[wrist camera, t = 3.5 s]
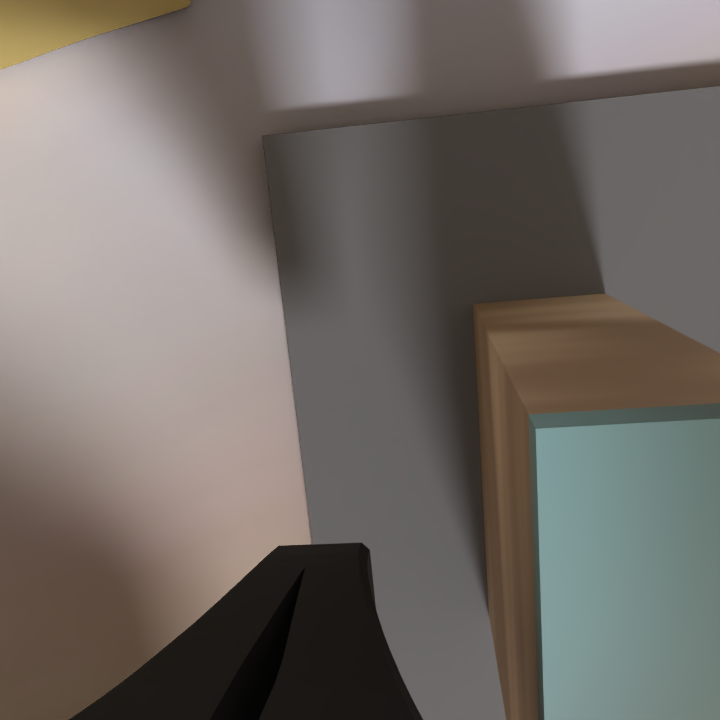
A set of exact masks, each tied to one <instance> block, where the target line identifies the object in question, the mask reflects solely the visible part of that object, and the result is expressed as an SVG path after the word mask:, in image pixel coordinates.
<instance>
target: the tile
mask: <svg viewBox="0 0 720 720" xmlns="http://www.w3.org/2000/svg"><path fill="white" fill-rule="evenodd" d="M473 315H474V334H475V353H476V372H477V392H478V411H479V430H480V450H481V469H482V488H483V507H484V527H485V546H486V565H487V584H488V604H489V619H490V625H491V631H492V637H493V643H494V649H495V655H496V661H497V667H498V673H499V679H500V685H501V691H502V697H503V703H504V709H505V715H506V720H720V353H718V352H716V351H714V350H713V349H711V348H709V347H707V346H705V345H703V344H701V343H699V342H697V341H695V340H693V339H691V338H690V337H688V336H686V335H684V334H682V333H680V332H678V331H676V330H674V329H672V328H670V327H668V326H667V325H665V324H663V323H661V322H659V321H657V320H655V319H653V318H651V317H649V316H647V315H645V314H644V313H642V312H640V311H638V310H636V309H634V308H632V307H630V306H628V305H626V304H624V303H623V302H621V301H619V300H617V299H615V298H613V297H611V296H609V295H607V294H593V295H580V296H567V297H554V298H541V299H528V300H516V301H503V302H490V303H477V304H473Z"/></svg>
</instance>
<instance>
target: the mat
mask: <svg viewBox="0 0 720 720" xmlns="http://www.w3.org/2000/svg"><path fill="white" fill-rule="evenodd" d="M262 138H263V146H264V154H265V163H266V171H267V179H268V187H269V195H270V203H271V211H272V220H273V228H274V236H275V244H276V252H277V260H278V269H279V277H280V285H281V293H282V301H283V309H284V317H285V326H286V334H287V342H288V350H289V358H290V366H291V375H292V383H293V391H294V399H295V407H296V415H297V423H298V432H299V440H300V448H301V456H302V464H303V472H304V481H305V489H306V497H307V505H308V513H309V521H310V529H311V538H312V545H313V544H337V543H361V542H362V543H363V544H364V545H365V546H366V547H367V548H368V549H370V555H371V565H372V575H373V584H374V594H375V604H376V611H377V614H378V617H379V620H380V623H381V626H382V630H383V633H384V635H385V638H386V641H387V643H388V646H389V648H390V651H391V653H392V656H393V658H394V660H395V663H396V665H397V667H398V670H399V672H400V674H401V676H402V679H403V681H404V683H405V685H406V687H407V689H408V691H409V693H410V695H411V697H412V699H413V701H414V703H415V705H416V707H417V709H418V711H419V713H420V715H421V716H422V718H423V720H506V715H505V709H504V703H503V697H502V691H501V685H500V679H499V673H498V667H497V661H496V655H495V649H494V643H493V637H492V631H491V625H490V619H489V604H488V584H487V565H486V546H485V527H484V507H483V488H482V469H481V450H480V430H479V411H478V392H477V372H476V353H475V334H474V315H473V304H477V303H490V302H503V301H516V300H528V299H541V298H554V297H567V296H580V295H593V294H607V295H609V296H611V297H613V298H615V299H617V300H619V301H621V302H623V303H624V304H626V305H628V306H630V307H632V308H634V309H636V310H638V311H640V312H642V313H644V314H645V315H647V316H649V317H651V318H653V319H655V320H657V321H659V322H661V323H663V324H665V325H667V326H668V327H670V328H672V329H674V330H676V331H678V332H680V333H682V334H684V335H686V336H688V337H690V338H691V339H693V340H695V341H697V342H699V343H701V344H703V345H705V346H707V347H709V348H711V349H713V350H714V351H716V352H718V353H720V86H715V87H706V88H697V89H687V90H678V91H669V92H660V93H651V94H642V95H632V96H623V97H614V98H605V99H596V100H586V101H577V102H568V103H559V104H550V105H541V106H531V107H522V108H513V109H504V110H495V111H485V112H476V113H467V114H458V115H449V116H440V117H430V118H421V119H412V120H403V121H394V122H384V123H375V124H366V125H357V126H348V127H339V128H329V129H320V130H311V131H302V132H293V133H283V134H274V135H265V136H262Z"/></svg>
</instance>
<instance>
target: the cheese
mask: <svg viewBox="0 0 720 720" xmlns="http://www.w3.org/2000/svg"><path fill="white" fill-rule="evenodd" d="M190 3H191V0H0V69H3V68H6V67H9V66H12V65H14V64H17V63H20V62H23V61H26V60H29V59H31V58H34V57H37V56H40V55H42V54H45V53H48V52H50V51H53V50H56V49H59V48H61V47H64V46H67V45H70V44H72V43H75V42H78V41H81V40H84V39H87V38H90V37H93V36H96V35H99V34H103V33H106V32H109V31H112V30H115V29H119V28H122V27H125V26H128V25H132V24H135V23H138V22H141V21H145V20H148V19H151V18H154V17H158V16H161V15H164V14H167V13H170V12H174V11H177V10H180V9H183V8H186V7H188V6H189V4H190Z"/></svg>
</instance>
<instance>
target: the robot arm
mask: <svg viewBox="0 0 720 720" xmlns="http://www.w3.org/2000/svg"><path fill="white" fill-rule="evenodd" d="M69 720H423V718H422V716H421V715H420V713H419V711H418V709H417V707H416V705H415V703H414V701H413V699H412V697H411V695H410V693H409V691H408V689H407V687H406V685H405V683H404V681H403V679H402V676H401V674H400V672H399V670H398V667H397V665H396V663H395V660H394V658H393V656H392V653H391V651H390V648H389V646H388V643H387V641H386V638H385V635H384V633H383V630H382V626H381V623H380V620H379V617H378V614H377V611H376V604H375V594H374V584H373V575H372V565H371V555H370V549H368V548H367V547H366V546H365V545H364V544H363V543H362V542H361V543H337V544H313V545H289V546H278V547H277V548H276V549H274V550H273V551H272V552H271V553H270V554H269V555H267V556H266V557H265V558H264V559H263V560H262V561H261V562H260V563H259V564H258V565H257V566H256V567H255V568H253V569H252V570H251V571H250V572H249V573H248V574H247V575H246V576H245V577H244V578H243V579H242V580H241V581H240V582H239V583H238V584H237V585H235V586H234V587H233V588H232V589H231V590H230V591H229V592H228V593H227V594H226V595H225V596H223V597H222V598H221V599H220V600H219V601H218V602H217V603H216V604H215V605H214V606H213V607H211V608H210V609H209V610H208V611H207V612H206V613H205V614H204V615H203V616H202V617H201V618H199V619H198V620H197V621H196V622H195V623H194V624H193V625H191V626H190V627H189V628H188V629H187V630H185V631H184V632H183V633H182V634H181V635H179V636H178V637H177V638H176V639H175V640H173V641H172V642H171V643H170V644H169V645H167V646H166V647H165V648H164V649H162V650H161V651H160V652H159V653H158V654H156V655H155V656H154V657H153V658H152V659H150V660H149V661H148V662H147V663H146V664H144V665H143V666H142V667H141V668H140V669H138V670H137V671H136V672H135V673H133V674H132V675H131V676H129V677H128V678H127V679H125V680H124V681H123V682H122V683H120V684H119V685H117V686H116V687H115V688H113V689H112V690H111V691H109V692H108V693H107V694H105V695H104V696H103V697H101V698H100V699H98V700H97V701H96V702H94V703H93V704H91V705H90V706H88V707H87V708H85V709H84V710H83V711H81V712H80V713H78V714H77V715H75V716H74V717H72V718H71V719H69Z"/></svg>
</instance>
